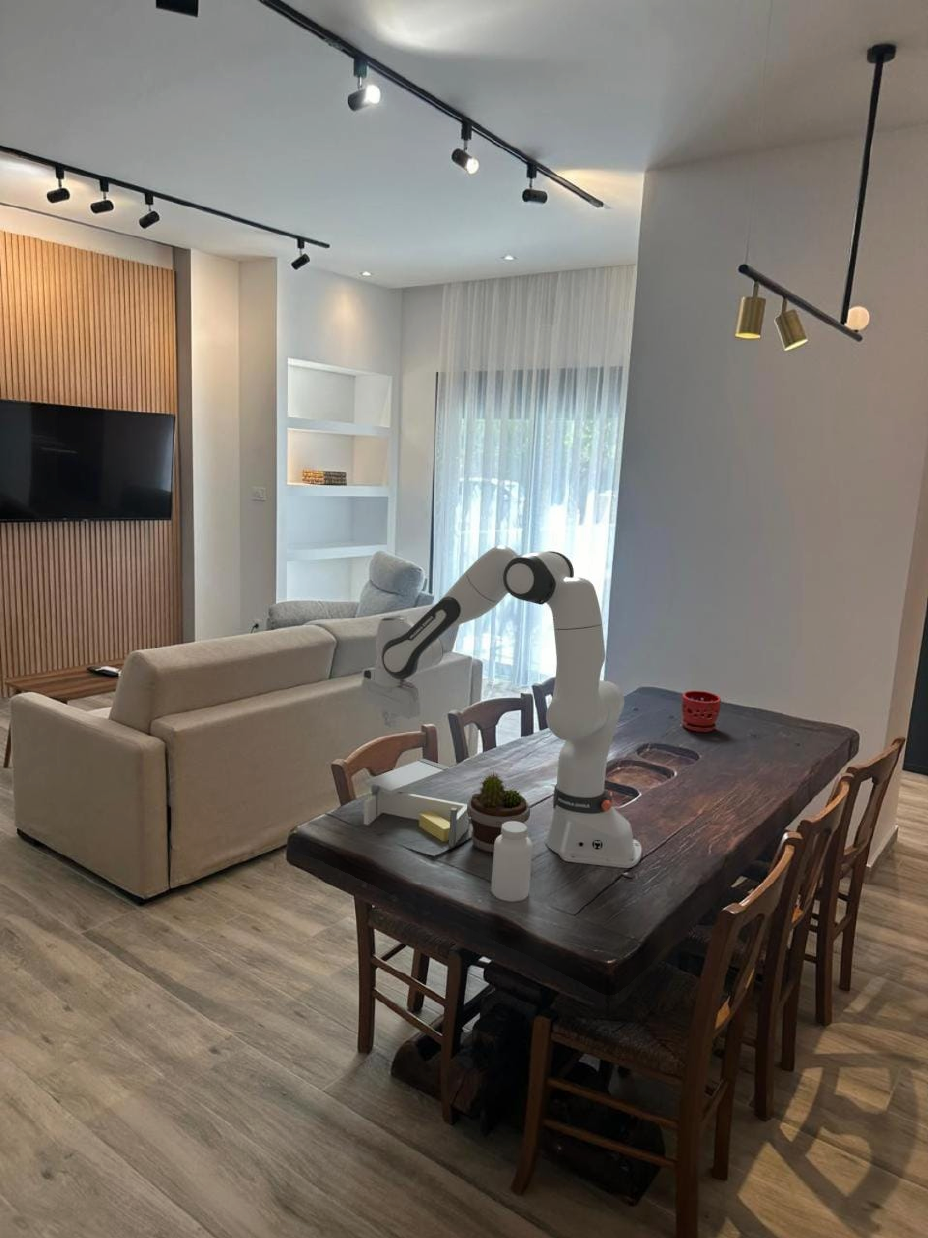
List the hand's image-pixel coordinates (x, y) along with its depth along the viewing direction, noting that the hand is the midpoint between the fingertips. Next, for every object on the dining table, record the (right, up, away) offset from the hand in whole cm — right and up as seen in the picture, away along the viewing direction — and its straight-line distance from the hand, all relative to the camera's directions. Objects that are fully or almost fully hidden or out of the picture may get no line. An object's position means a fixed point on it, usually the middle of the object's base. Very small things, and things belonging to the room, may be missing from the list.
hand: (389, 726), depth 221 cm
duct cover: (+5, -13, -7) cm, 15 cm away
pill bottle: (+30, -29, -47) cm, 63 cm away
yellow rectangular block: (+13, -23, -21) cm, 34 cm away
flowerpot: (+27, -25, -27) cm, 46 cm away
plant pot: (+102, -10, +70) cm, 124 cm away
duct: (+8, -22, -18) cm, 30 cm away
